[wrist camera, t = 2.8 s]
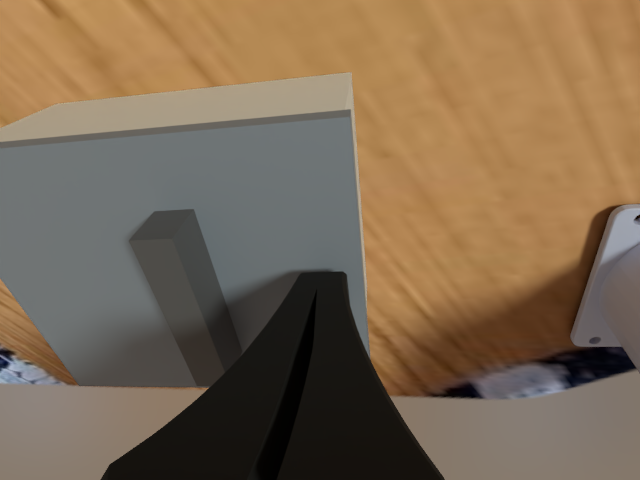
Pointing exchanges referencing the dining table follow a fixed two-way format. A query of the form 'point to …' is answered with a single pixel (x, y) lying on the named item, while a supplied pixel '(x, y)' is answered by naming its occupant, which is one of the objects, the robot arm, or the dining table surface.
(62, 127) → the box
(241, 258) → the lid
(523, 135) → the dining table surface
